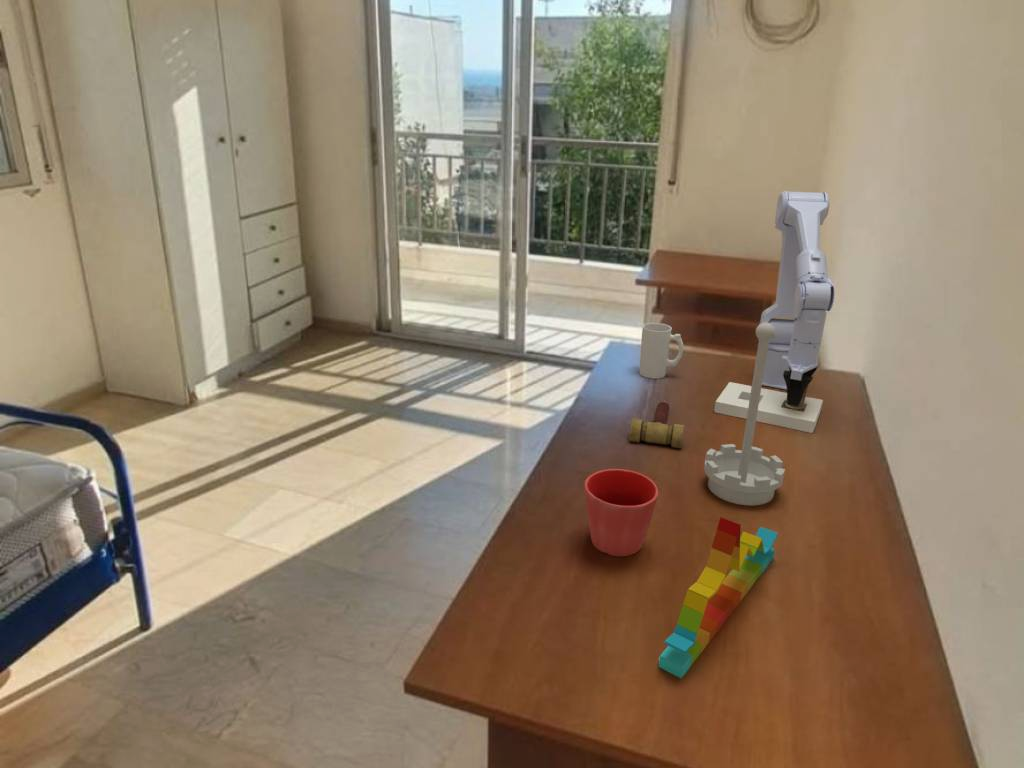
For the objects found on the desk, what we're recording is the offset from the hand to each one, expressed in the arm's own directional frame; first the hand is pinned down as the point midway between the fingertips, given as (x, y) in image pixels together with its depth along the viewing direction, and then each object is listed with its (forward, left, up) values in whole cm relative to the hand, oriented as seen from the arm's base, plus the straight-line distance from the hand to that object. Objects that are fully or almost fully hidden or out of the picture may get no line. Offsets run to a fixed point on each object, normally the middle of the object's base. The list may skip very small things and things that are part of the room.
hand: (794, 400), depth 153 cm
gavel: (+19, -23, -4) cm, 30 cm away
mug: (-8, -32, -4) cm, 33 cm away
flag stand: (+37, -3, -4) cm, 37 cm away
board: (0, -5, -4) cm, 6 cm away
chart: (+70, +2, -4) cm, 70 cm away
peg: (0, 0, -4) cm, 4 cm away
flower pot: (+63, -16, -4) cm, 65 cm away
